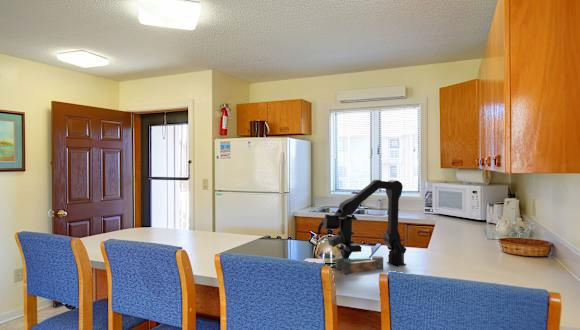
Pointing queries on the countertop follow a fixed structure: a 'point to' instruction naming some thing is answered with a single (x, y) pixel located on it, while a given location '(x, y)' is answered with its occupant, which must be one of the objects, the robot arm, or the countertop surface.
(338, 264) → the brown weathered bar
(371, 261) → the wooden block
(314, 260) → the charger
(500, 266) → the countertop surface
